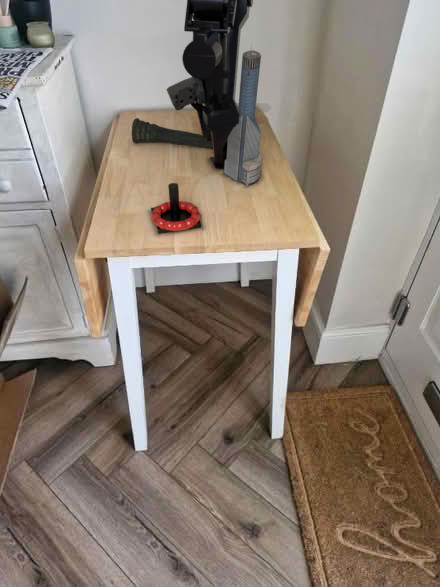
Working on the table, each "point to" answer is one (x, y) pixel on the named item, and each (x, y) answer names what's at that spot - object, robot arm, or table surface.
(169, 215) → the peg
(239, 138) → the building
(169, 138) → the tool
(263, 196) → the table surface
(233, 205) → the table surface
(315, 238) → the table surface
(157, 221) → the ring
